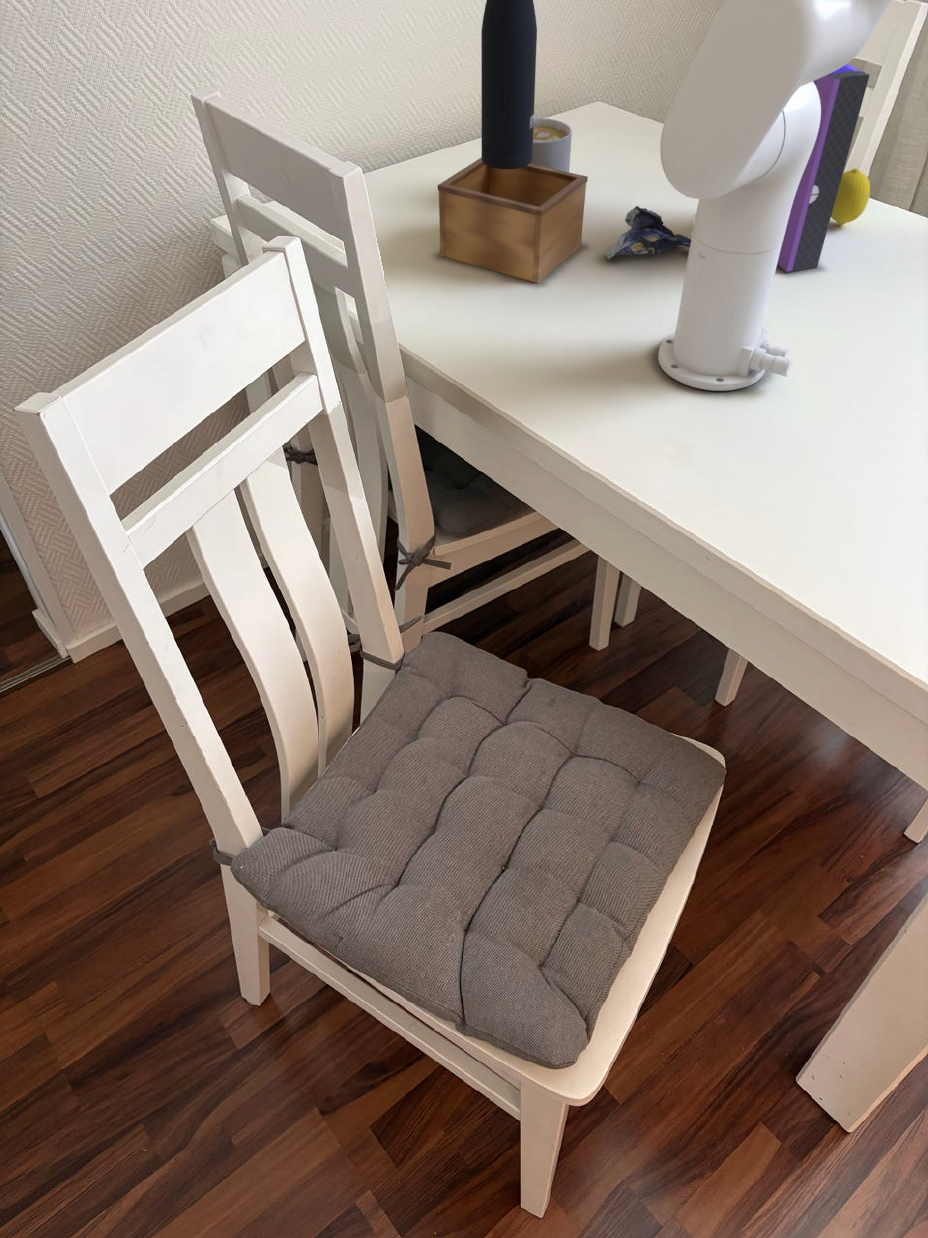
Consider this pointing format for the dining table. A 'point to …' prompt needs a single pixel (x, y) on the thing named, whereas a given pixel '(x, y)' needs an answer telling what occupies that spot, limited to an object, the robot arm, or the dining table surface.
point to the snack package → (646, 235)
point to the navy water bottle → (508, 82)
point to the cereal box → (823, 168)
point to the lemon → (851, 197)
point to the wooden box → (512, 218)
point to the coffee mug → (551, 144)
